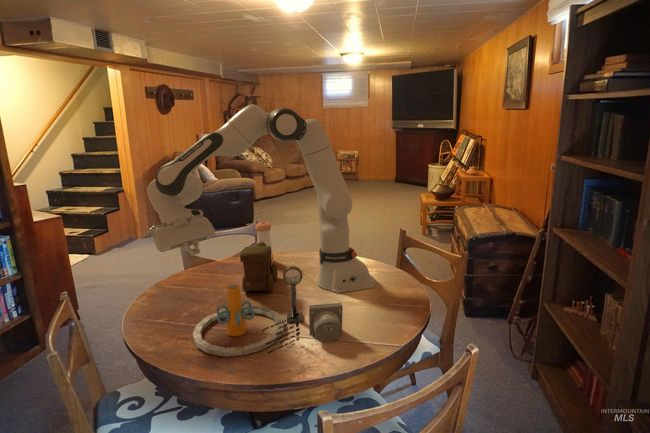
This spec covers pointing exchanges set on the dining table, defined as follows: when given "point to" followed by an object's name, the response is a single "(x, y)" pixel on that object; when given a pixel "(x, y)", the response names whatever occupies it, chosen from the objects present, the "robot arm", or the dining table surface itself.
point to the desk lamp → (293, 290)
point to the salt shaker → (264, 234)
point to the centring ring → (237, 350)
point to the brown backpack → (258, 268)
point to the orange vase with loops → (235, 312)
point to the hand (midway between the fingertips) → (195, 254)
